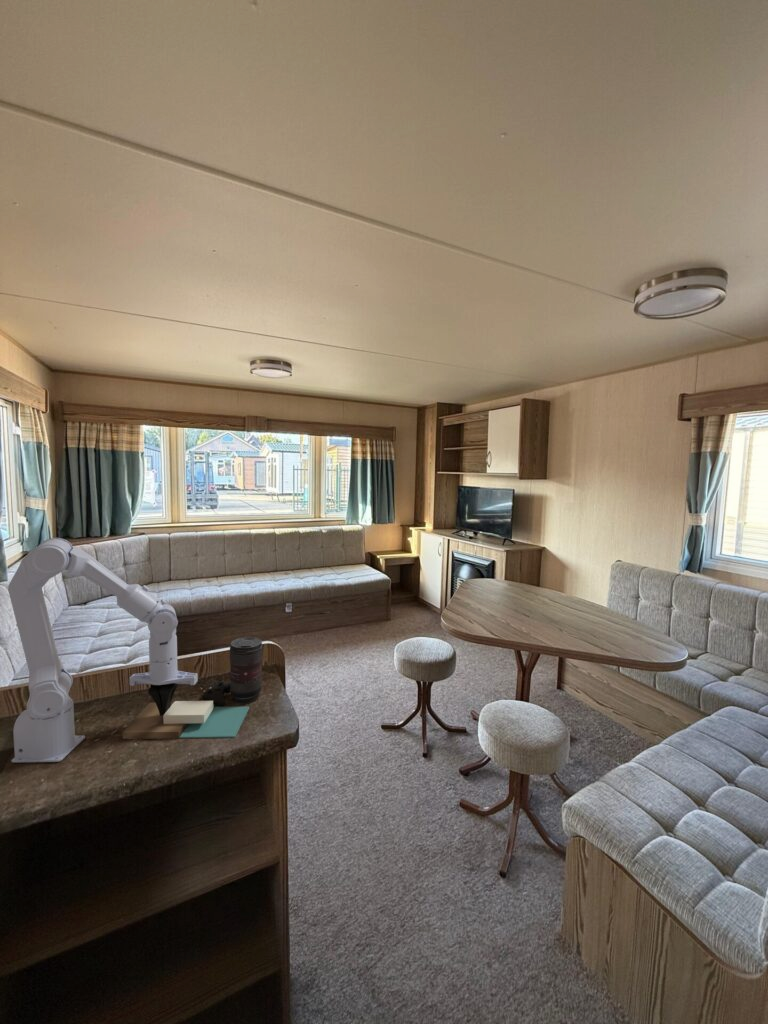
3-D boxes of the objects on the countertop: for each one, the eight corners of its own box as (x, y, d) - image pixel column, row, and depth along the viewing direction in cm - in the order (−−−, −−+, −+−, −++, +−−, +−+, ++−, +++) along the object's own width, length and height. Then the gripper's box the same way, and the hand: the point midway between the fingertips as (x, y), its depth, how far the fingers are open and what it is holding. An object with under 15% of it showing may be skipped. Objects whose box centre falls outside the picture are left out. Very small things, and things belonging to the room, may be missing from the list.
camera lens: (262, 703, 107) (262, 646, 106) (228, 707, 105) (227, 649, 104) (263, 688, 115) (262, 634, 114) (231, 691, 113) (231, 637, 111)
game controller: (226, 705, 105) (209, 688, 105) (211, 719, 105) (194, 702, 105) (240, 685, 114) (224, 670, 114) (226, 698, 115) (211, 683, 115)
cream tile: (163, 723, 95) (163, 715, 95) (175, 709, 101) (175, 701, 101) (204, 723, 96) (203, 714, 95) (213, 708, 102) (213, 700, 101)
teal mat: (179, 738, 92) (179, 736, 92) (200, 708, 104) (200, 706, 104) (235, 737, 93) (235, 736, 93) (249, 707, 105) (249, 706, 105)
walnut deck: (122, 738, 92) (122, 732, 92) (150, 708, 104) (149, 702, 104) (178, 738, 92) (178, 731, 92) (199, 708, 104) (199, 702, 104)
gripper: (202, 649, 101) (203, 703, 102) (140, 649, 100) (141, 704, 101) (190, 662, 94) (191, 720, 95) (123, 663, 93) (125, 721, 94)
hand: (164, 713), depth 98 cm, fingers closed
